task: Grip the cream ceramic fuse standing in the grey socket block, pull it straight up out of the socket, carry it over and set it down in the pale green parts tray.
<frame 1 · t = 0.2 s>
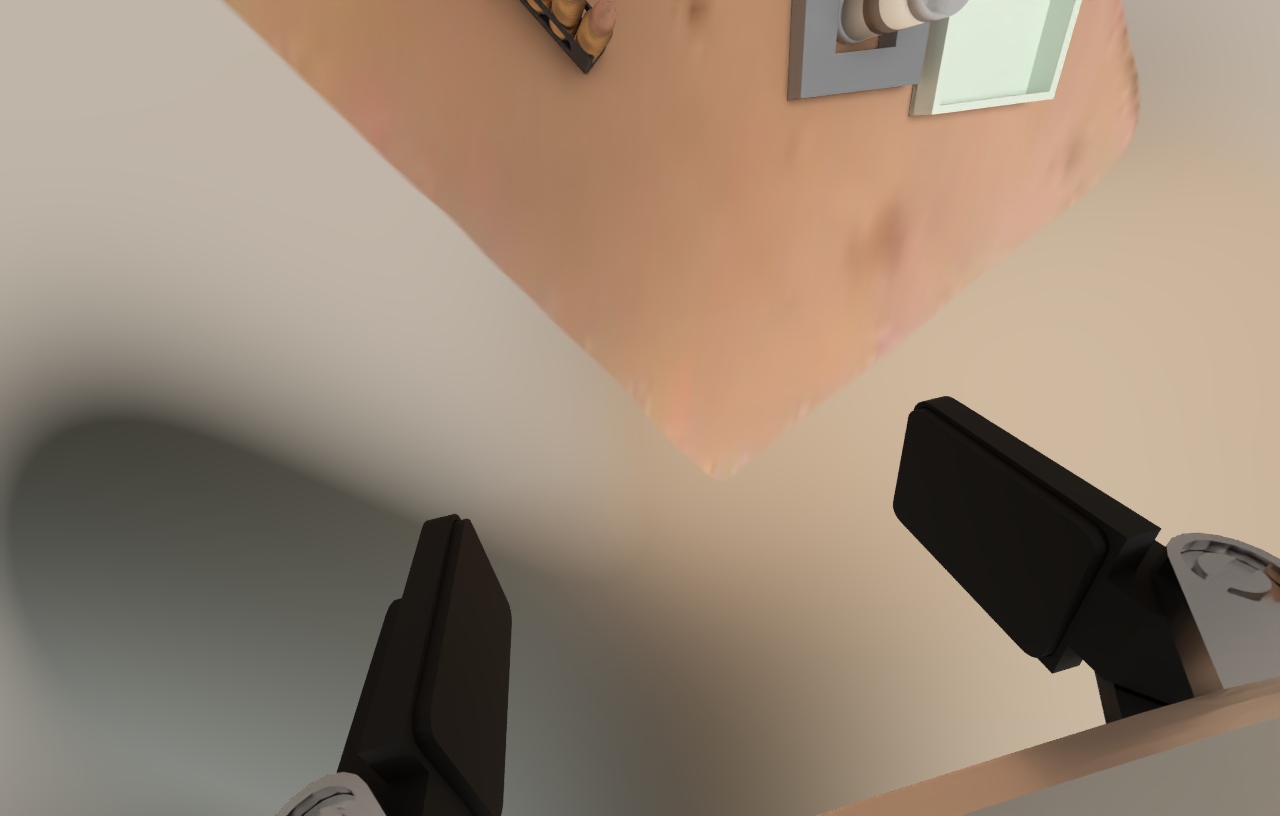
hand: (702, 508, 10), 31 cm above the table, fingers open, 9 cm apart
parts tray: (982, 35, 35), on the table
socket block: (852, 14, 32), on the table
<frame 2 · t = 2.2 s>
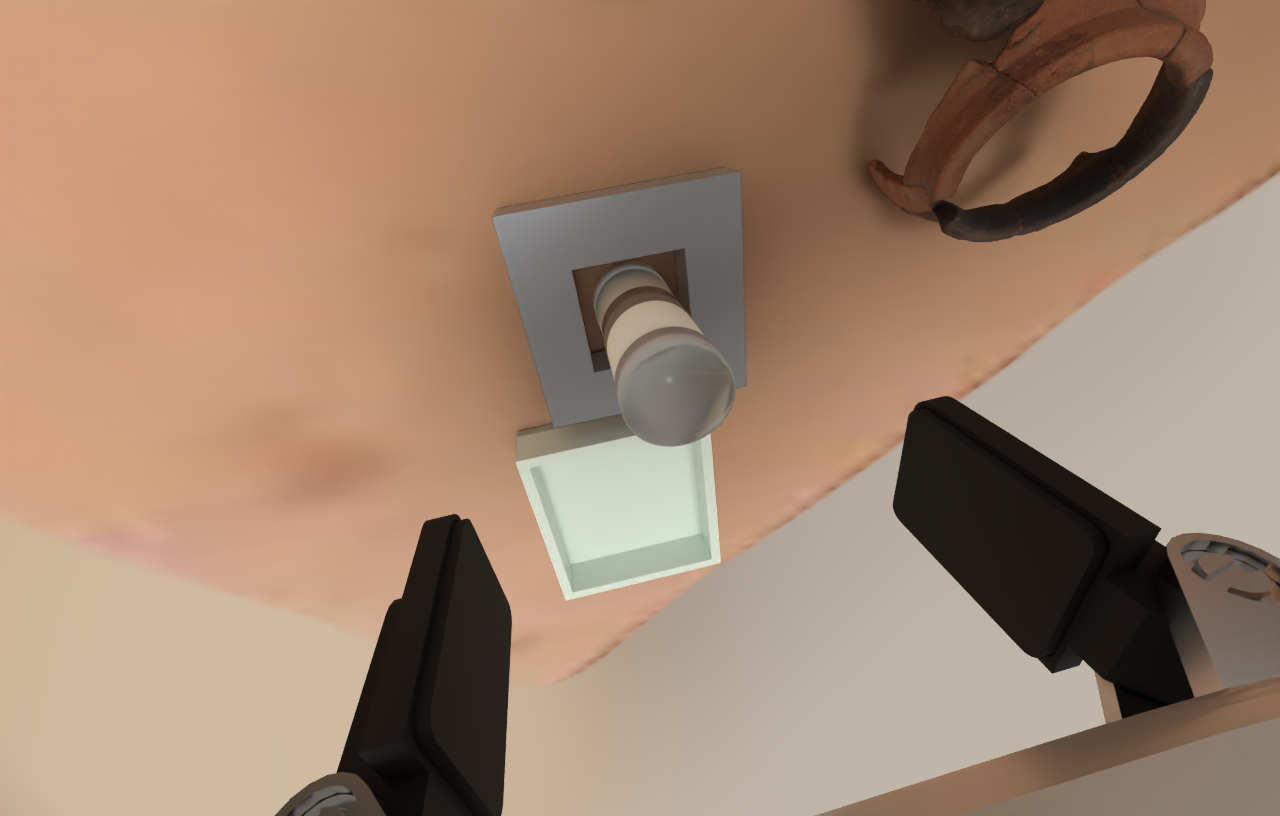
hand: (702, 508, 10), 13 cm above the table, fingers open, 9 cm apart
parts tray: (623, 486, 26), on the table
socket block: (629, 298, 21), on the table
pottery mug: (945, 59, 18), on the table
blown fuse: (648, 337, 17), in the socket block
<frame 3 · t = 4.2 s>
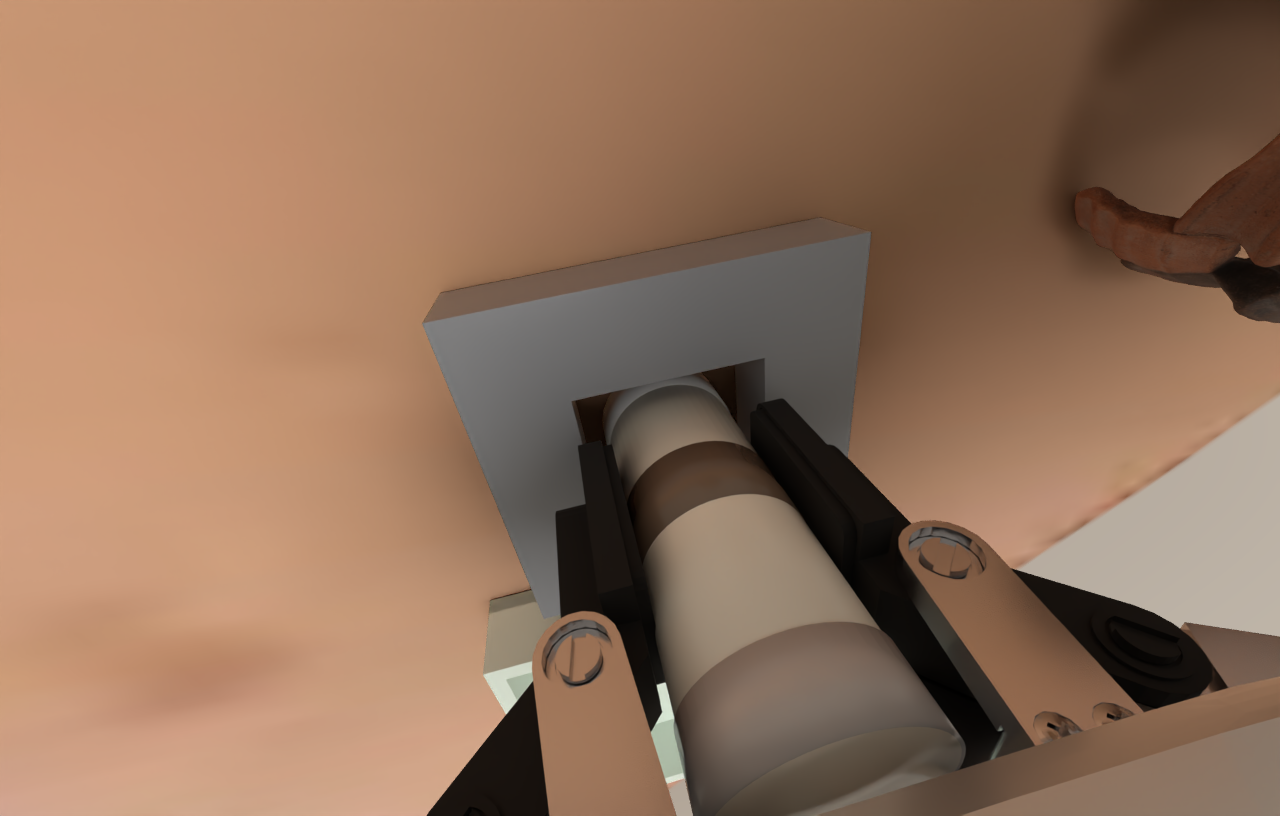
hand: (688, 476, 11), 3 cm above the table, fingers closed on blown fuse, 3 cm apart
parts tray: (644, 651, 18), on the table
socket block: (661, 416, 13), on the table
pottery mug: (1214, 19, 11), on the table
blown fuse: (712, 531, 9), in the socket block, touching gripper
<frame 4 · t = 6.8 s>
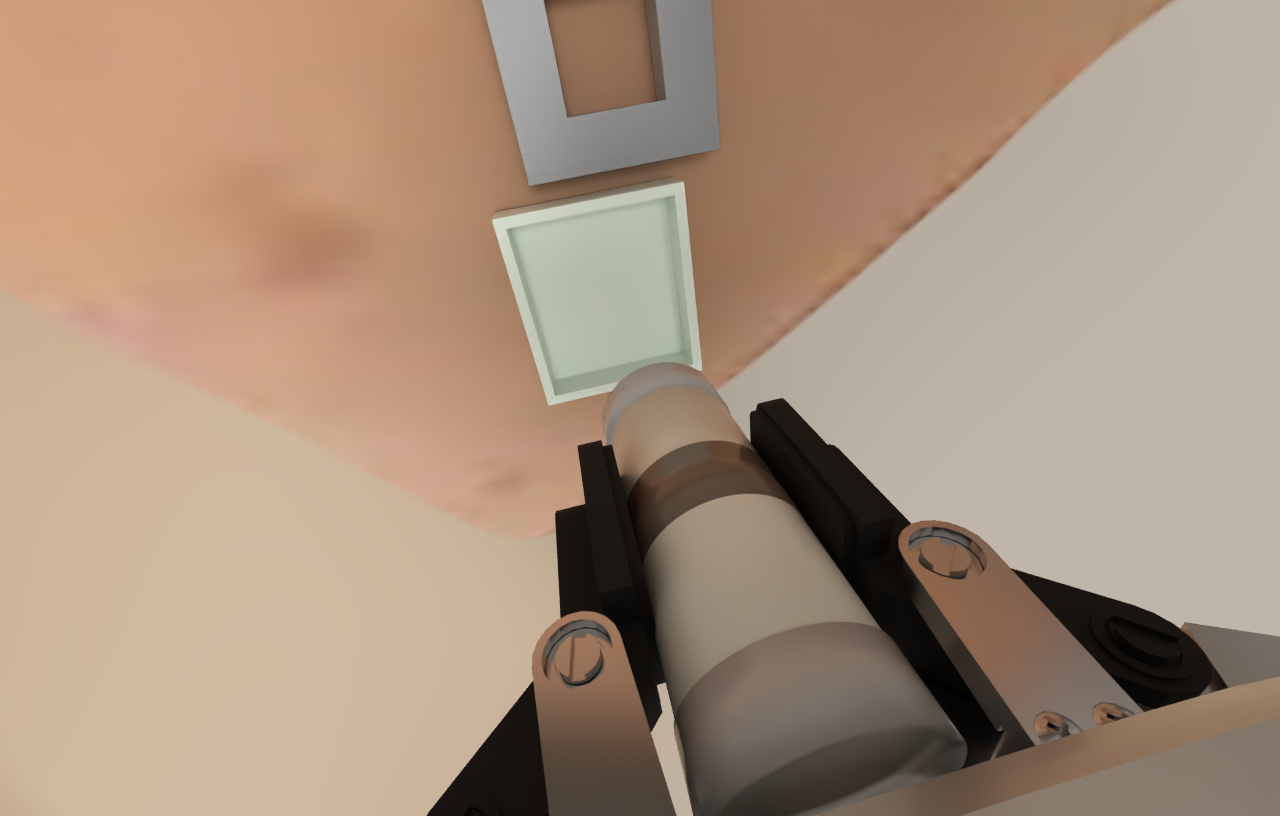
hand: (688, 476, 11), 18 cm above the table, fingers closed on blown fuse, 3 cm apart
parts tray: (604, 290, 26), on the table
socket block: (601, 52, 21), on the table
blown fuse: (712, 530, 9), point 20 cm above the table, touching gripper
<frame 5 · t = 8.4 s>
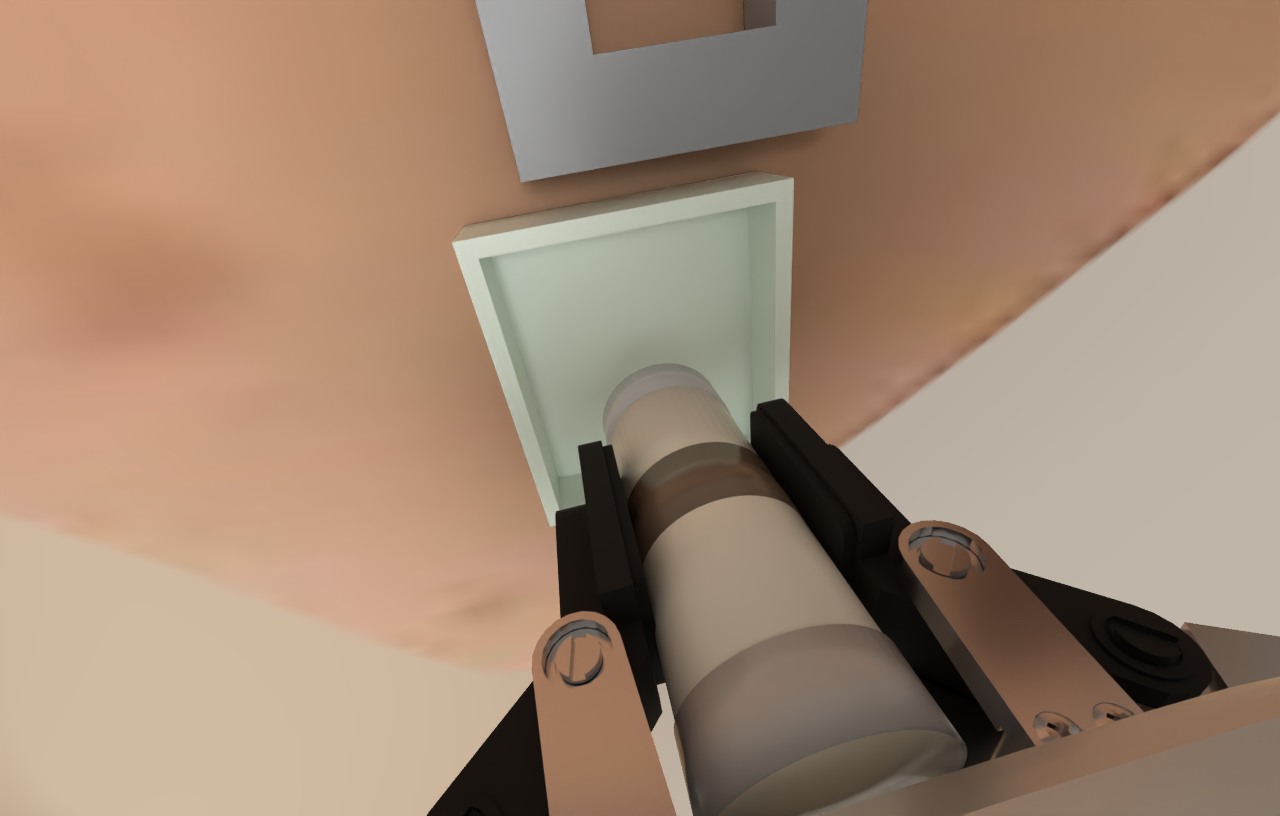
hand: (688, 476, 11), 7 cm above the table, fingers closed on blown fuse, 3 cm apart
parts tray: (638, 347, 17), on the table
blown fuse: (712, 532, 9), point 9 cm above the table, touching gripper
when the fingers open (4 cm above the table, at t = 9.6 s): blown fuse stays where it is, resting on parts tray.
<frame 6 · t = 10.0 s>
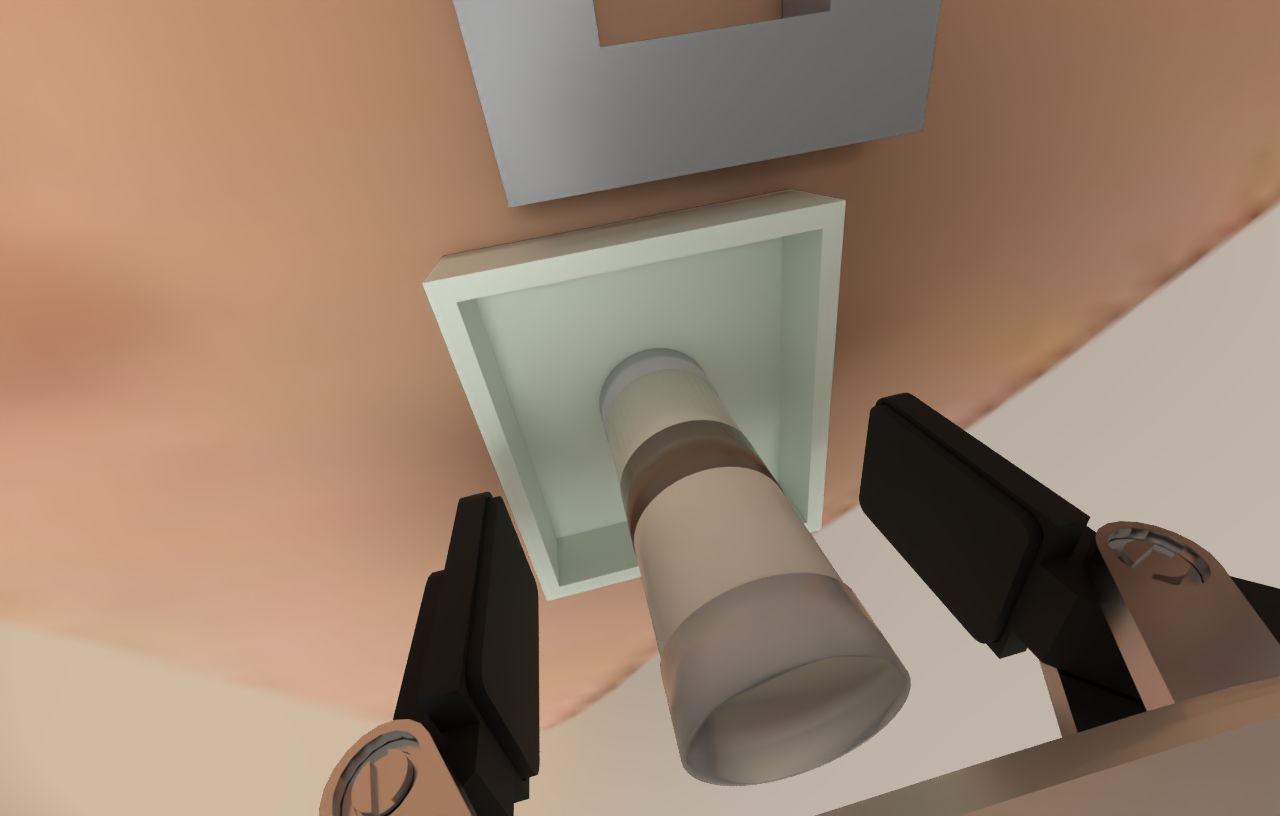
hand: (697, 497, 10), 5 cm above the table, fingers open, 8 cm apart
parts tray: (650, 392, 14), on the table
blown fuse: (699, 502, 10), in the parts tray
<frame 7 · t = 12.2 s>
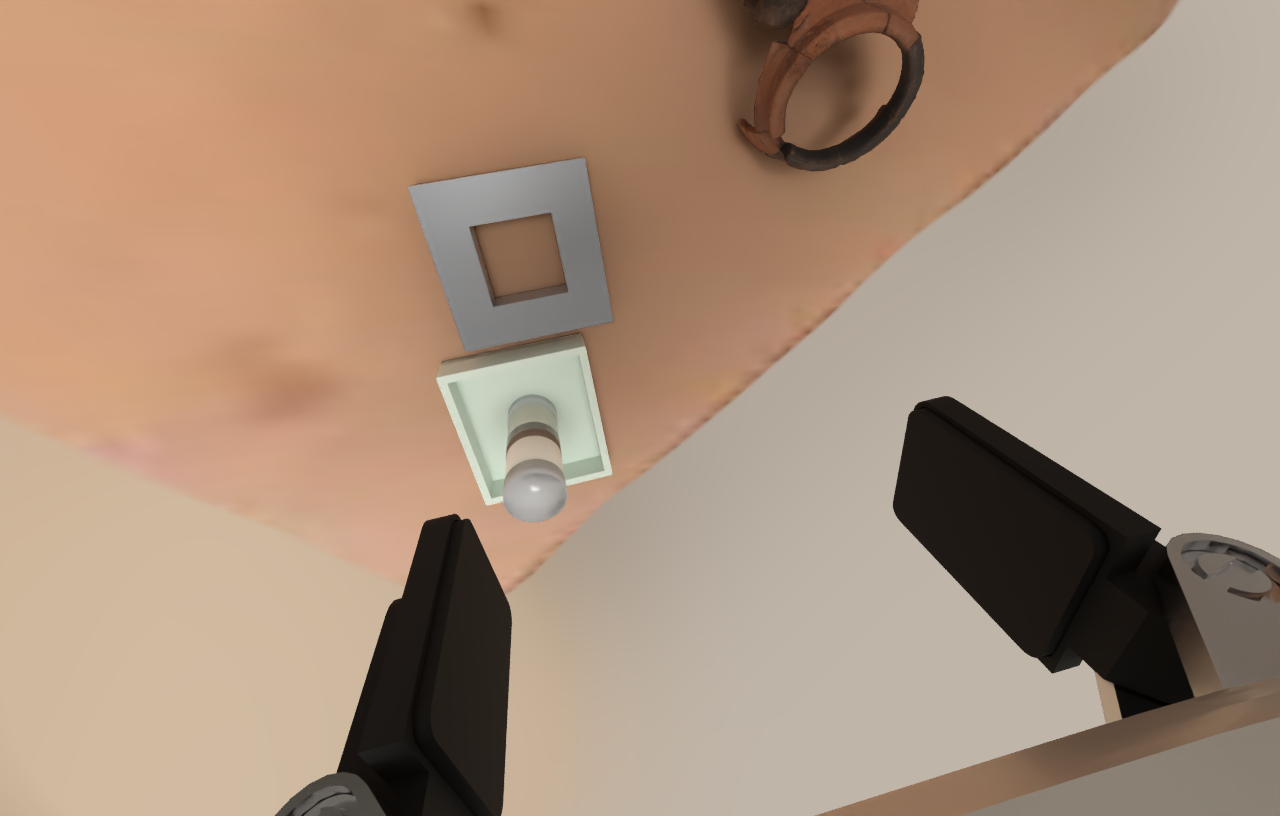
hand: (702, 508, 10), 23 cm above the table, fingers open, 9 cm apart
parts tray: (532, 412, 33), on the table
socket block: (521, 254, 28), on the table
pottery mug: (783, 46, 26), on the table
blown fuse: (533, 451, 29), in the parts tray
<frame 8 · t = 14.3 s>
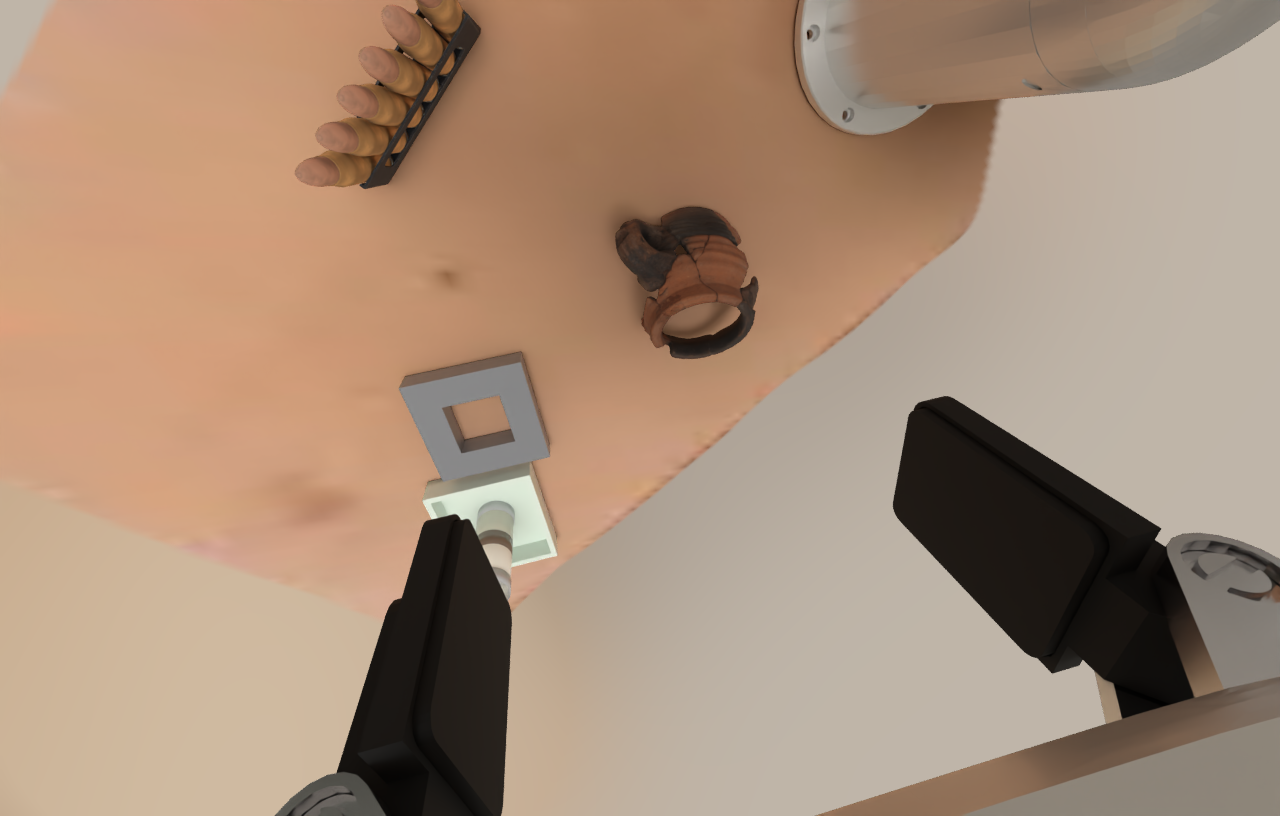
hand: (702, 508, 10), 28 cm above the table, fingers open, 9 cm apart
parts tray: (496, 511, 44), on the table
socket block: (482, 412, 39), on the table
ammunition clip: (418, 99, 28), on the table
pottery mug: (672, 267, 36), on the table
blown fuse: (492, 550, 40), in the parts tray
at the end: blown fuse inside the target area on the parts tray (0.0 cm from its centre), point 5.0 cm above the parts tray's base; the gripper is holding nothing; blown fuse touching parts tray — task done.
